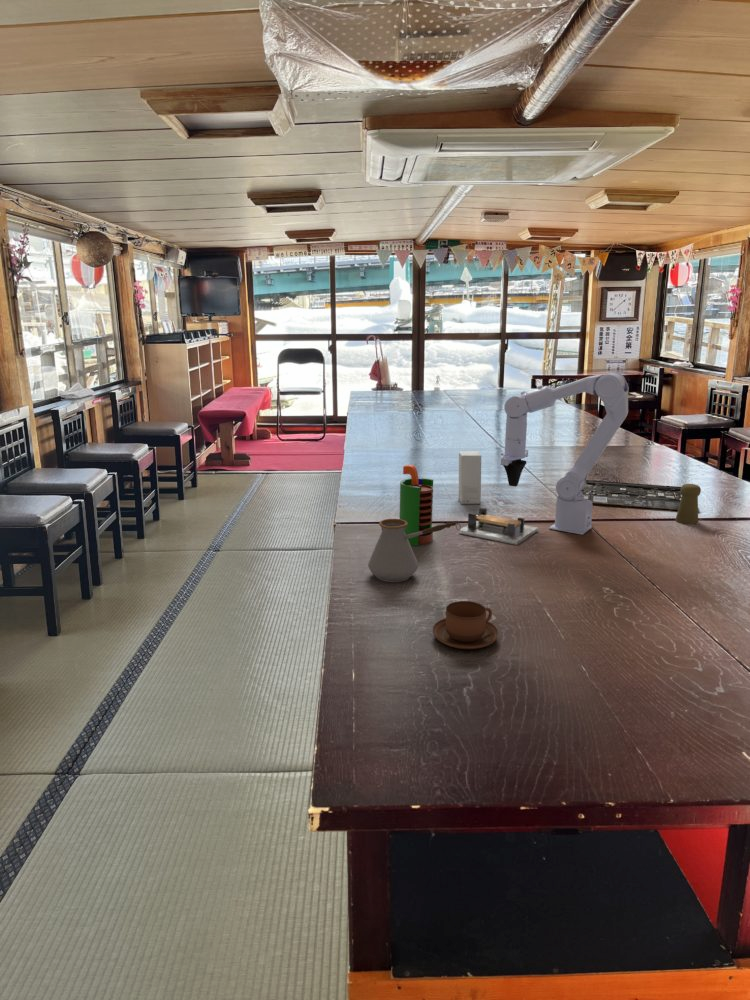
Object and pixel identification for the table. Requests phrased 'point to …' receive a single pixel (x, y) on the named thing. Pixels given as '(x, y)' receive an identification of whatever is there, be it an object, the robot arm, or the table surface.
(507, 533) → the wooden bar fixture
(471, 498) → the skincare box
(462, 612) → the cup and saucer
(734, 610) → the table surface
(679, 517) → the cork
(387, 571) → the coffee pot
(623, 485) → the laptop interior
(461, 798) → the table surface
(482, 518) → the wooden board
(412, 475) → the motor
